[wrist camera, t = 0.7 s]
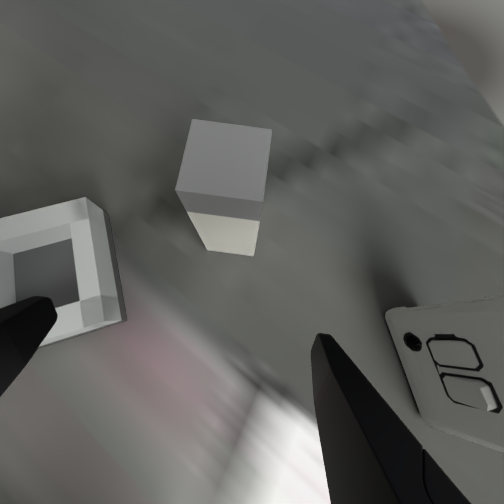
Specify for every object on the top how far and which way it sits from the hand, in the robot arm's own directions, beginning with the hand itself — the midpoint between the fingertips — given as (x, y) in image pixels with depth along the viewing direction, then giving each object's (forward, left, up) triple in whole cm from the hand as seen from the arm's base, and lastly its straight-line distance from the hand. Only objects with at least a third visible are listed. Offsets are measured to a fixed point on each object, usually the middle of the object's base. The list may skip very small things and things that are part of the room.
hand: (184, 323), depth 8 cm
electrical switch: (-8, -17, -14) cm, 23 cm away
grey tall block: (+8, -4, -13) cm, 16 cm away
